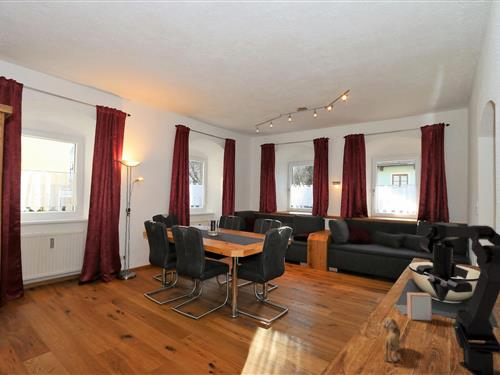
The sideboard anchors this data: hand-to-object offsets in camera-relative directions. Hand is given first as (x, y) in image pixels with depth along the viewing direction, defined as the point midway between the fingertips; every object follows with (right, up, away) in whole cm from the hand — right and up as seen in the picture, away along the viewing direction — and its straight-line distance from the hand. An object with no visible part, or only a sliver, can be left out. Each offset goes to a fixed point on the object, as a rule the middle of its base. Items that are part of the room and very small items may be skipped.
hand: (441, 301), depth 99 cm
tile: (+1, -13, +15) cm, 20 cm away
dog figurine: (-23, -13, -9) cm, 28 cm away
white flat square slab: (+2, -14, +23) cm, 27 cm away
